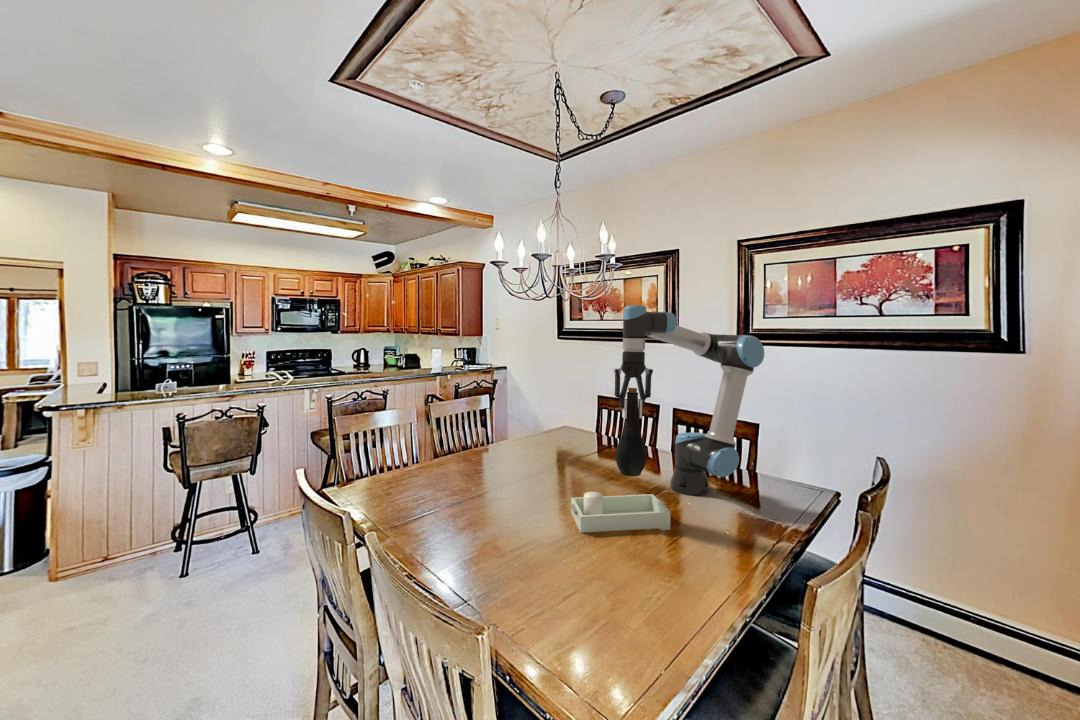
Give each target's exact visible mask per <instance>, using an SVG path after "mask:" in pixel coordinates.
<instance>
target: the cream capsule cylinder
mask: <svg viewBox="0 0 1080 720" xmlns="http://www.w3.org/2000/svg"><path fill="white" fill-rule="evenodd" d="M603 496H604V495H603V494H602V493H601V492H599V491H598V492H597V491H586V492H584V493H583V497H584V515H600V514H603Z"/></svg>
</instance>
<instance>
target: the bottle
mask: <svg viewBox="0 0 1080 720" xmlns="http://www.w3.org/2000/svg"><path fill="white" fill-rule="evenodd" d="M627 391H628V392H626V400H627V419H624V420H623V426H622V427H623V428H622V432H621V435H620V438H619V441H618V443H617V447H616V450H615V462H616V466H617V468H618V470H619V472H620V474H621V475H623V476H626V477H638V476H640V475H641V474H642V472H643V471H644V469H645V466H646V463H647V451H646V446H645V443H644V440H643V436H642V432H641V423H640V418H639V413H638V399H639V398H638V397H639V392H638V387H628V388H627Z"/></svg>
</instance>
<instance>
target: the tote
mask: <svg viewBox="0 0 1080 720" xmlns="http://www.w3.org/2000/svg"><path fill="white" fill-rule="evenodd" d="M570 499H571V500H570V502H571V503H570V509H571V510H570V513H571V515H572V517H573V519H574V522H575V524H576V526H577V528H578V531H579V532H580V533H581V534H582V533H598V532H599V533H601V532H615V531H617V532H618V531H635V530H654V529H655V530H656V529H659V531H671V513H672V512H671V511H670V510H669V509H668V506H667V505H666V504H665V503H664V502H663V501H662V500H661V499H658V498H657V497H656V496H655V495H654V494H653V493H651V494H650V493H649V494H628V495H609V496H608V495H605V496H604V495H603V514H600V515H584V496H583V497H582V496H581V497H580V496H579V497H571V498H570Z"/></svg>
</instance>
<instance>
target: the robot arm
mask: <svg viewBox="0 0 1080 720" xmlns="http://www.w3.org/2000/svg"><path fill="white" fill-rule="evenodd" d="M622 316H623V317H622V320H623V321H622V349H623V351H622V358H621V359H622V361H621V362H622V363H621V366H620V367H617V368H613V373H614V397H615V398H617V399H619V408H620V409H622V412H621V413H622V414H621V417H622V418H623V419H624V420H625V419H627V398H626V397H627V391H628V388H629V383H630V381H631V379H632V378H634V379H635V380H636V385H637V391H638V396H639V398H638V413H639V419H643V409H645V408H646V400H647V399H648V398H651V396H652V395H651V394H652V389H651V388H652V376H653V373H654V370H653V368H648V367H646V364H645V362H646V361H645V360H646V359H645V357H646V352H645V351H644V350H646V337H647V338H652V339H654V340H658V341H661V342H664V343H667V344H670V345H673V346H677V347H679V348H682V349H686V350H688V351H692V352H693V353H694V354H695V355H697V356H698V357H702V358H705V359H707V360H710V361H712V362H715V363H718V364H720V368H721V370H722V371H723V372H722V377H721V381H720V384H719V385H720V386H719V389H718V393H717V397H716V401H715V406H714V409H713V414H712V418H711V422H710V427H709V430H708V432H707V433H704V432H703V433H702V432H681V433H678V434H677V435H676V437H675V442H674V444H675V447H674V448H675V449H674V451H675V455H674V456H675V458H674V459H675V461H674V462H675V463H674V471H673V474H672V476H671V480H670V483H669V484H670V486H669V487H670V489H671V490H672V491H674V492H676V493H679V494H683V495H689V496H701V495H702V496H703V495H706V494H708V493H709V491H710V484H709V481H708V477H707V475H706V473H707V474H708V473H709V474H710V475H712V476H715V477H718V478H726V477H728V476H730V475H731V474H733V473H734V472H735V471H736V469H737V468H738V466H739V463H740V455H739V453H738V451H737V450H736V449H735V448H736V442H735V440H734V435H735V430H736V425H737V422H738V421H737V420H738V417H739V413H740V409H741V404H742V401H743V396H744V392H745V388H746V384H747V379H748V377H749V376H751V375H752V374H753V373H754V370H755V368H757V367H759V366H760V365H761V364H762V363H763V361H764V358H765V347H764V345H763V344H762V342H761V340H760V339H759V338H758V337H756V336H754V335H748V334H747V335H746V334H713V333H709V332H705V331H704V332H698V331H694V330H692V329H688V328H685V327H684V326H683V327H682V326H680V325H677V322H678V321H677V317H676V315H675V314H674V313H673V312H666V311H647V307H646V306H645V305H626V306H624V309H623V315H622ZM622 372H623V374H624V376H623V383H622V387H621V374H622ZM643 373H644V374H645V384H643V378H642V375H643ZM644 385H645V387H644Z"/></svg>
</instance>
